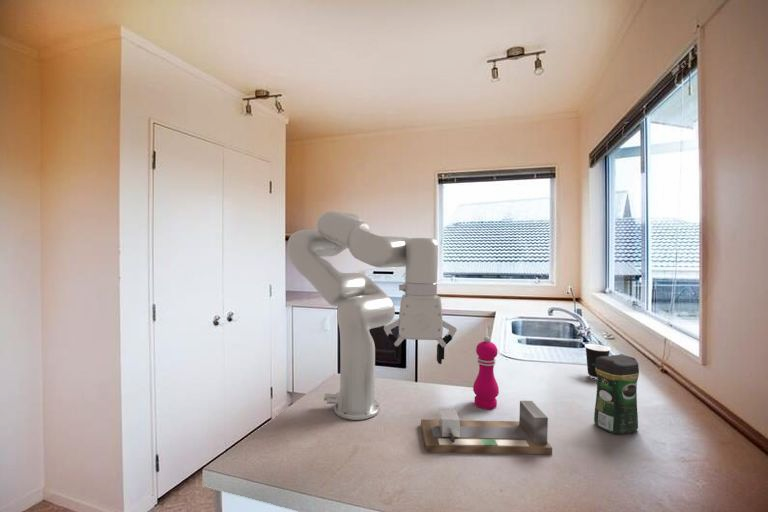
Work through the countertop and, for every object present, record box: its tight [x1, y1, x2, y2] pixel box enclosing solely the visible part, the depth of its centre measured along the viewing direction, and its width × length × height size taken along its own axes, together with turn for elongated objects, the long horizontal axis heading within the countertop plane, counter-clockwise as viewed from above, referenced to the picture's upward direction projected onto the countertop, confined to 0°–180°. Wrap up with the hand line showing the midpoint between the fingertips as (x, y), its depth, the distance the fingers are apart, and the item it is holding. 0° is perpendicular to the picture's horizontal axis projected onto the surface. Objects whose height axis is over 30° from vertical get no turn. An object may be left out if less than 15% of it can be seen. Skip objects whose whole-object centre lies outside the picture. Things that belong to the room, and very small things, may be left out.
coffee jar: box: [593, 353, 640, 435], centre depth 93 cm, size 10×8×19 cm
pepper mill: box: [472, 335, 500, 410], centre depth 106 cm, size 7×7×20 cm
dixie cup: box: [584, 343, 611, 379], centre depth 129 cm, size 8×8×11 cm
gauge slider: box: [438, 407, 461, 443], centre depth 85 cm, size 4×9×4 cm, turn 0°
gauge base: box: [420, 400, 553, 455], centre depth 87 cm, size 28×12×8 cm, turn 90°
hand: (419, 361), depth 87 cm, fingers open, 9 cm apart
